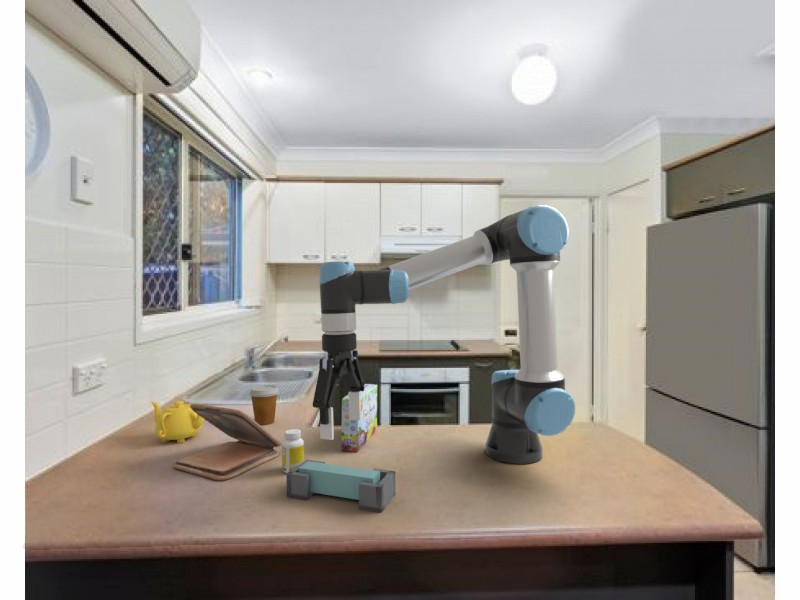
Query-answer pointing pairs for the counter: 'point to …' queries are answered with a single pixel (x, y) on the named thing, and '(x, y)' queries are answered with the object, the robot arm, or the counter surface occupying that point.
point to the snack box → (363, 429)
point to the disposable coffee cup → (264, 403)
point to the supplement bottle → (292, 450)
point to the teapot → (177, 422)
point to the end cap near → (377, 492)
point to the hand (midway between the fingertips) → (342, 428)
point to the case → (230, 445)
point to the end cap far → (299, 483)
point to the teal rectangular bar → (337, 479)
